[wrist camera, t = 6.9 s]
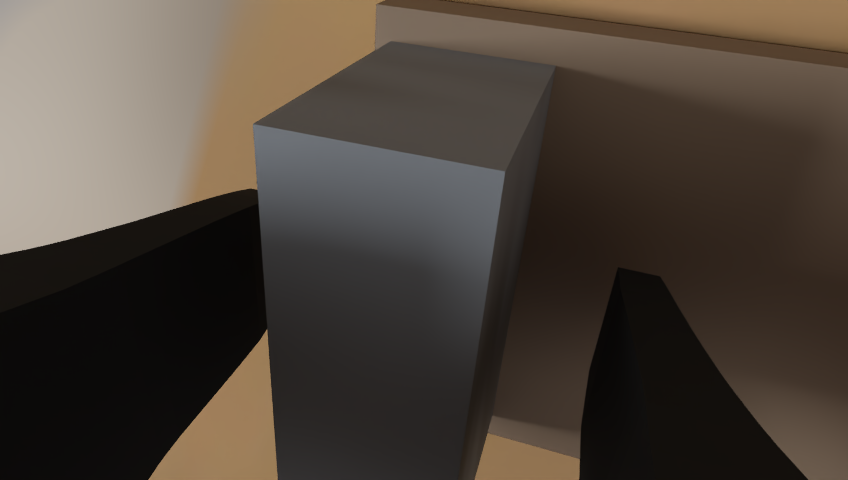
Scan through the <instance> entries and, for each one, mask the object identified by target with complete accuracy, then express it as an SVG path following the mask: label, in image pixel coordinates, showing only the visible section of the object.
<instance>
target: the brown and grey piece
mask: <svg viewBox="0 0 848 480" xmlns="http://www.w3.org/2000/svg"><path fill="white" fill-rule="evenodd" d="M253 131H254V145H255V159H256V174H257V188H258V202H259V216H260V231H261V245H262V259H263V273H264V288H265V302H266V316H267V330H268V345H269V359H270V373H271V387H272V402H273V416H274V430H275V444H276V459H277V473H278V480H474V479H475V476H476V472H477V468H478V465H479V461H480V458H481V454H482V451H483V447H484V443H485V440H486V436H487V433H490V434H494V435H497V436H501V437H504V438H508V439H511V440H515V441H518V442H522V443H525V444H529V445H532V446H536V447H540V448H543V449H547V450H550V451H554V452H557V453H561V454H564V455H568V456H571V457H575V458H578V459H580V439H581V422H582V415H583V408H584V401H585V394H586V388H587V381H588V375H589V369H590V365H591V362H592V358H593V355H594V351H595V348H596V344H597V340H598V337H599V333H600V330H601V326H602V322H603V319H604V315H605V312H606V308H607V305H608V301H609V297H610V294H611V290H612V287H613V283H614V279H615V276H616V272H617V269H618V267H619V268H624V269H629V270H633V271H638V272H643V273H647V274H652V275H657V276H660V277H661V278H662V280H663V281H664V283H665V285H666V286H667V288H668V290H669V291H670V293H671V295H672V296H673V298H674V300H675V301H676V303H677V305H678V307H679V308H680V310H681V312H682V313H683V315H684V317H685V318H686V320H687V322H688V323H689V325H690V327H691V328H692V330H693V332H694V333H695V335H696V336H697V338H698V339H699V341H700V343H701V344H702V346H703V347H704V349H705V350H706V352H707V353H708V355H709V356H710V358H711V359H712V361H713V362H714V364H715V365H716V367H717V368H718V370H719V371H720V373H721V374H722V376H723V377H724V378H725V380H726V381H727V383H728V384H729V385H730V387H731V388H732V389H733V391H734V392H735V393H736V395H737V396H738V397H739V398H740V400H741V401H742V402H743V404H744V405H745V406H746V407H747V409H748V410H749V411H750V413H751V414H752V415H753V417H754V418H755V419H756V420H757V422H758V423H759V424H760V425H761V427H762V428H763V429H764V430H765V431H766V433H767V434H768V435H769V436H770V437H771V438H772V440H773V441H774V442H775V443H776V444H777V446H778V447H779V448H780V449H781V450H782V451H783V452H784V453H785V454H786V456H787V457H788V458H789V459H790V460H791V461H792V462H793V463H794V464H795V465H796V467H797V468H798V469H799V470H800V471H801V472H802V473H803V474H804V475H805V476H806V478H807V479H808V480H848V54H845V53H838V52H830V51H822V50H815V49H807V48H799V47H792V46H784V45H777V44H769V43H761V42H754V41H746V40H739V39H731V38H723V37H716V36H708V35H701V34H693V33H685V32H678V31H670V30H663V29H655V28H647V27H640V26H632V25H625V24H617V23H609V22H602V21H594V20H586V19H579V18H571V17H564V16H556V15H548V14H541V13H533V12H526V11H518V10H510V9H503V8H495V7H488V6H480V5H472V4H465V3H457V2H450V1H442V0H385V1H383V2H380V3H378V4H376V31H375V51H373V52H372V53H370V54H368V55H367V56H365V57H363V58H362V59H360V60H358V61H357V62H355V63H353V64H352V65H350V66H348V67H347V68H345V69H343V70H342V71H340V72H339V73H337V74H335V75H334V76H332V77H330V78H329V79H327V80H325V81H324V82H322V83H320V84H319V85H317V86H315V87H314V88H312V89H310V90H309V91H307V92H305V93H304V94H302V95H300V96H299V97H297V98H295V99H294V100H292V101H290V102H289V103H287V104H285V105H284V106H282V107H280V108H279V109H277V110H275V111H274V112H272V113H270V114H269V115H267V116H265V117H264V118H262V119H260V120H259V121H257V122H255V123H254V124H253Z"/></svg>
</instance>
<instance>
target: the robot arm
mask: <svg viewBox="0 0 848 480" xmlns="http://www.w3.org/2000/svg"><path fill="white" fill-rule="evenodd" d="M266 330H267V316H266V302H265V288H264V273H263V259H262V245H261V231H260V216H259V202H258V190H255V189H246V190H240V191H236V192H231V193H227V194H223V195H220V196H216V197H213V198H209V199H206V200H202V201H199V202H196V203H192V204H189V205H186V206H183V207H179V208H176V209H173V210H170V211H166V212H163V213H160V214H157V215H153V216H150V217H147V218H144V219H140V220H138V221H134V222H130V223H127V224H123V225H120V226H116V227H113V228H109V229H105V230H102V231H98V232H95V233H91V234H87V235H84V236H80V237H76V238H73V239H69V240H66V241H61V242H57V243H53V244H50V245H45V246H41V247H36V248H32V249H27V250H22V251H18V252H12V253H8V254H3V255H0V480H148V479H149V478H150V476H151V475H152V473H153V472H154V470H155V469H156V467H157V466H158V465H159V463H160V462H161V460H162V459H163V458H164V456H165V455H166V454H167V452H168V451H169V450H170V449H171V447H172V446H173V445H174V443H175V442H176V441H177V439H178V438H179V437H180V436H181V434H182V433H183V432H184V431H185V430H186V429H187V427H188V426H189V425H190V424H191V423H192V421H193V420H194V419H195V418H196V417H197V415H198V414H199V413H200V412H201V411H202V409H203V408H204V407H205V406H206V405H207V403H208V402H209V401H210V400H211V399H212V397H213V396H214V395H215V394H216V393H217V392H218V390H219V389H220V388H221V387H222V386H223V384H224V383H225V382H226V381H227V380H228V378H229V377H230V376H231V375H232V374H233V372H234V371H235V370H236V369H237V368H238V366H239V365H240V364H241V363H242V361H243V360H244V359H245V358H246V357H247V355H248V354H249V353H250V352H251V350H252V349H253V348H254V347H255V345H256V344H257V343H258V342H259V340H260V339H261V338H262V336H263V334H264V333H265V331H266ZM579 480H808V479H807V478H806V476H805V475H804V474H803V473H802V472H801V471H800V470H799V469H798V468H797V467H796V465H795V464H794V463H793V462H792V461H791V460H790V459H789V458H788V457H787V456H786V454H785V453H784V452H783V451H782V450H781V449H780V448H779V447H778V446H777V444H776V443H775V442H774V441H773V440H772V438H771V437H770V436H769V435H768V434H767V433H766V431H765V430H764V429H763V428H762V427H761V425H760V424H759V423H758V422H757V420H756V419H755V418H754V417H753V415H752V414H751V413H750V411H749V410H748V409H747V407H746V406H745V405H744V404H743V402H742V401H741V400H740V398H739V397H738V396H737V395H736V393H735V392H734V391H733V389H732V388H731V387H730V385H729V384H728V383H727V381H726V380H725V378H724V377H723V376H722V374H721V373H720V371H719V370H718V368H717V367H716V365H715V364H714V362H713V361H712V359H711V358H710V356H709V355H708V353H707V352H706V350H705V349H704V347H703V346H702V344H701V343H700V341H699V339H698V338H697V336H696V335H695V333H694V332H693V330H692V328H691V327H690V325H689V323H688V322H687V320H686V318H685V317H684V315H683V313H682V312H681V310H680V308H679V307H678V305H677V303H676V301H675V300H674V298H673V296H672V295H671V293H670V291H669V290H668V288H667V286H666V285H665V283H664V281H663V280H662V278H661V277H660V276H657V275H652V274H647V273H643V272H638V271H633V270H629V269H624V268H619V267H618V269H617V272H616V276H615V279H614V283H613V287H612V290H611V294H610V297H609V301H608V305H607V308H606V312H605V315H604V319H603V322H602V326H601V330H600V333H599V337H598V340H597V344H596V348H595V351H594V355H593V358H592V362H591V365H590V369H589V375H588V381H587V388H586V394H585V401H584V408H583V415H582V422H581V439H580V477H579Z"/></svg>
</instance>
